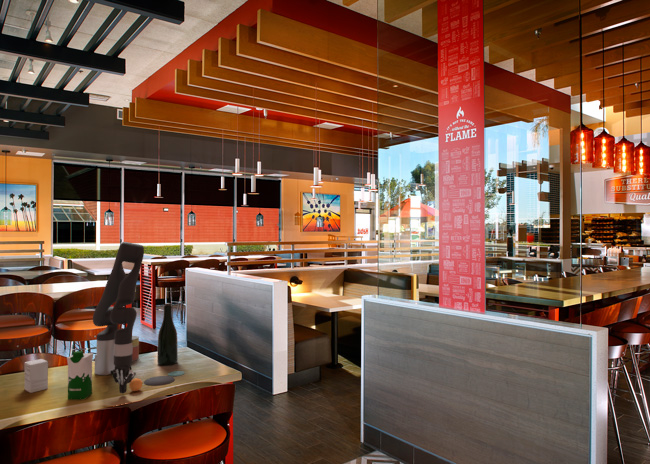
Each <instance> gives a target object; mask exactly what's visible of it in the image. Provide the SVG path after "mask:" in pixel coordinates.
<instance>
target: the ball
mask: <svg viewBox="0 0 650 464" xmlns="http://www.w3.org/2000/svg"><path fill="white" fill-rule="evenodd" d="M128 386H129V389H130V390H131V391H133V392H138V391H140V390H141V389H142V387H143V381H142V379H140V378H136V377H135V378H133V379H132V381H131V382H130V383H128Z"/></svg>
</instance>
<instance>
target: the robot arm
mask: <svg viewBox="0 0 650 464" xmlns="http://www.w3.org/2000/svg"><path fill="white" fill-rule="evenodd" d="M144 254H145V247H144V245H142V244H139V243H134V242H133V243H132V242H128V241H123V242H121V243H120V245H119V247H118V249H117V252H116V256H115V259H114V263H113V265H112V269H111V271H110V274H109V277H108V278H107V282H106V283H105V286H104V290H103V292H102V295H101V298H100V300H99V302H97V303H98V304H97V305H96V307H95V308H94V312H93V314H92V323H93V324H94V326H96V327H101V328H102V327H106V328H105V329H103V330H102V331H100V332H99V333H97V334H96V354H95V355H94V374H95V375H97V376H108V375H111V376H112V377H113V380H114V382H115V383H116V384H117V383H118V387H119V388H118V391H119V393H120V394H125V393H126V392H127V388H128V387H127V386H128V385H129V384H130V382H131V381H132V380H133V379H135V378H134V377H135V376H136V374H137V373H136V372H135V371H134V372H133V369H132V363H133V361H132V352H133V347H132V336H133V329H134V326H135V322H136V319H137V314H138V313H137V310H136V308H133V307H125V306H129V305H132V304H133V303H134V301H135V296H136V290H137V289H136V287H137V283H138V279H139V275H140V271H141V268H142V264H143V259H144V256H145V255H144ZM123 262H125V263H129V264H130V263H131V264H133V267H132V269H131V270H130V272H129V273H128V274H126V272H125V269H124V266H123ZM113 304H114V305H113ZM112 305H113V306H112ZM119 325H126V326H125V327H123V328H118V326H119ZM127 384H128V385H127Z"/></svg>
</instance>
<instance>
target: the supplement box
mask: <svg viewBox="0 0 650 464" xmlns="http://www.w3.org/2000/svg"><path fill="white" fill-rule="evenodd" d="M48 367H49V362H48V360H45V359H43V358H40V359H39V358H38V359H34V360H28V361H25V362H24V391H26V392H28V393H30V394H31V393H36V392H39V391H43V390H48V389H49V368H48Z"/></svg>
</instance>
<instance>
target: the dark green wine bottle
mask: <svg viewBox="0 0 650 464" xmlns="http://www.w3.org/2000/svg"><path fill="white" fill-rule="evenodd" d="M174 323H175V322H174V320H173V305H172V303H170V302H165V303H164V305H163V317H162V323H161V325H160V328H159V330H158V334H157V365H159V366H173V365H176V364H177V363H178V359H179V358H178V357H179V356H178V354H179V353H178V350H179V349H178V332H177V329H176V326H175V324H174Z"/></svg>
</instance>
